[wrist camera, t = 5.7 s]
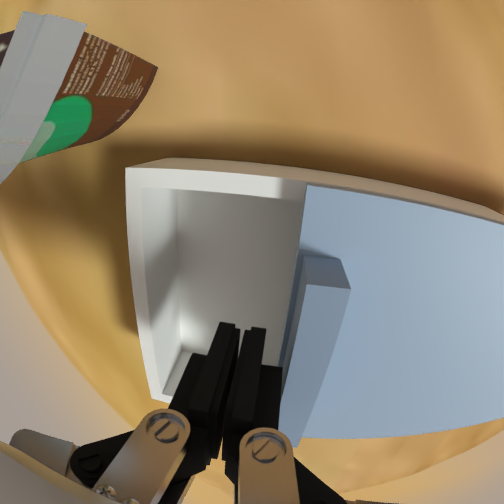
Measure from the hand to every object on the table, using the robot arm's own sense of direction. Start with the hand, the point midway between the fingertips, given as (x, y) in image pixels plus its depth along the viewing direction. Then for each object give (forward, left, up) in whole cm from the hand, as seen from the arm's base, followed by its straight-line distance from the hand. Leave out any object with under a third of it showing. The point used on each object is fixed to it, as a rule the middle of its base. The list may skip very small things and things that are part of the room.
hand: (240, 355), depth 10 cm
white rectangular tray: (0, +4, -6) cm, 7 cm away
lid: (0, +10, -1) cm, 10 cm away
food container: (-9, -11, -6) cm, 16 cm away
